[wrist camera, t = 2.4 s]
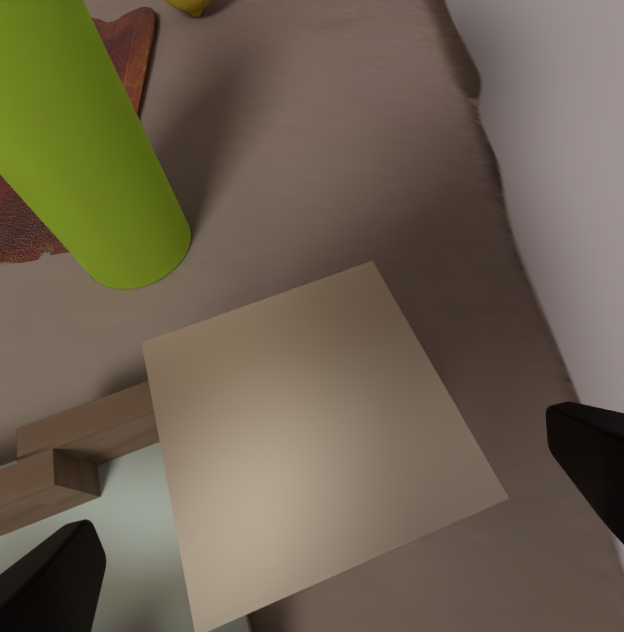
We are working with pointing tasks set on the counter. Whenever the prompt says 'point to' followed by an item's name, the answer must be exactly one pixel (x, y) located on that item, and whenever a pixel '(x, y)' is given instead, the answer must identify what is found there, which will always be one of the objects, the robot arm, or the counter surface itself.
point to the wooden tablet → (131, 65)
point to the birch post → (305, 442)
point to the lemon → (190, 6)
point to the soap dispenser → (83, 147)
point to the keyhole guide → (104, 507)
